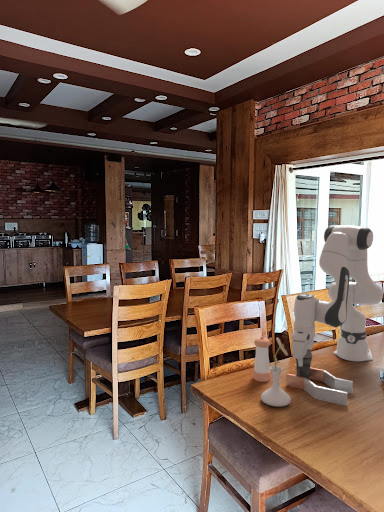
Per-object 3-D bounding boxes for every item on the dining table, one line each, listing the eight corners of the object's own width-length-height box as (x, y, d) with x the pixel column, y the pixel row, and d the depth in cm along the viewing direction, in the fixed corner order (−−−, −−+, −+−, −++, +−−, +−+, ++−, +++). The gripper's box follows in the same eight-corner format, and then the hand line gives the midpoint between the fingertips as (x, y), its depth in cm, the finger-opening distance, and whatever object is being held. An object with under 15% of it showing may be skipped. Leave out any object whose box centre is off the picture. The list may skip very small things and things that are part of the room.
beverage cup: (312, 386, 162) (313, 340, 160) (294, 384, 164) (295, 339, 162) (310, 379, 169) (311, 335, 167) (293, 377, 171) (294, 334, 169)
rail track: (295, 375, 175) (295, 364, 174) (354, 387, 161) (355, 376, 161) (281, 390, 159) (282, 379, 158) (346, 406, 145) (347, 393, 145)
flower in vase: (289, 411, 141) (290, 346, 139) (258, 406, 145) (259, 342, 143) (292, 396, 153) (293, 335, 151) (264, 392, 157) (264, 333, 155)
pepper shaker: (263, 383, 166) (263, 340, 164) (250, 378, 171) (250, 336, 170) (273, 378, 171) (273, 336, 169) (260, 373, 176) (260, 333, 175)
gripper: (303, 325, 175) (302, 354, 176) (289, 336, 157) (289, 369, 159) (317, 327, 171) (316, 356, 173) (305, 338, 154) (304, 372, 155)
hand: (303, 362), depth 166 cm, fingers closed on beverage cup, 7 cm apart
